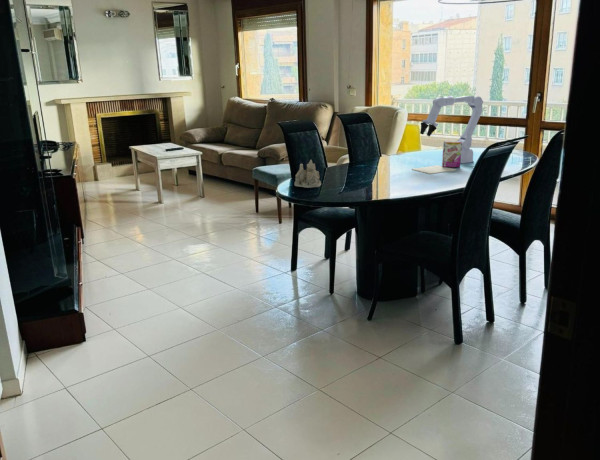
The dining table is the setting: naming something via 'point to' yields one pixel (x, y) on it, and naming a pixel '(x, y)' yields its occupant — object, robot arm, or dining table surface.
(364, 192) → the dining table surface
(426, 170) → the mat
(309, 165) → the white castle figurine
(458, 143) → the candy bar box
